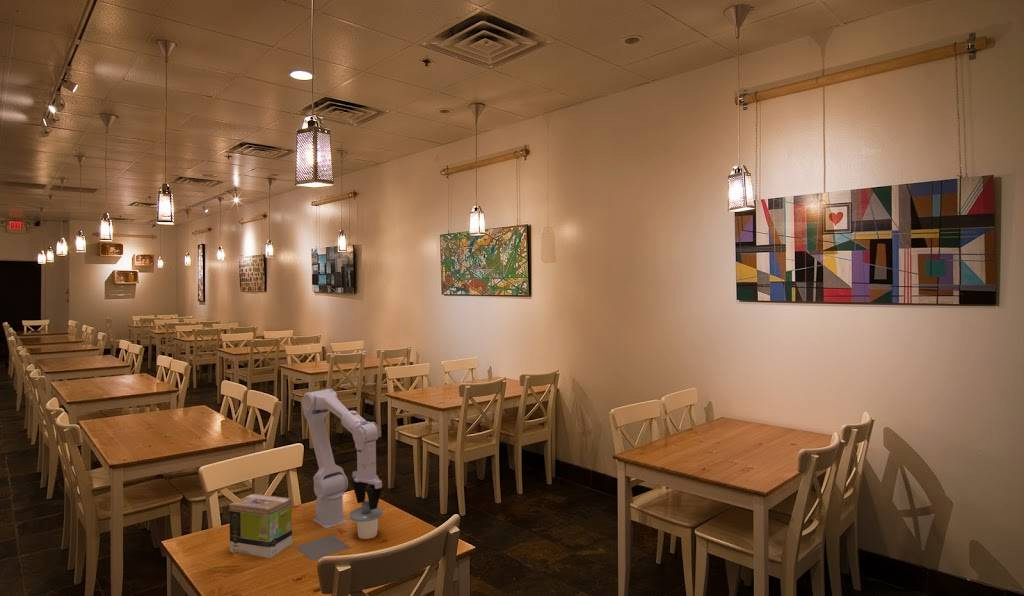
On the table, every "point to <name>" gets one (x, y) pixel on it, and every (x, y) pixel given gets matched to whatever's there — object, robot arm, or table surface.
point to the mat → (322, 547)
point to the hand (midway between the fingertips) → (367, 505)
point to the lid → (365, 513)
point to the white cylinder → (367, 529)
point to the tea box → (260, 525)
